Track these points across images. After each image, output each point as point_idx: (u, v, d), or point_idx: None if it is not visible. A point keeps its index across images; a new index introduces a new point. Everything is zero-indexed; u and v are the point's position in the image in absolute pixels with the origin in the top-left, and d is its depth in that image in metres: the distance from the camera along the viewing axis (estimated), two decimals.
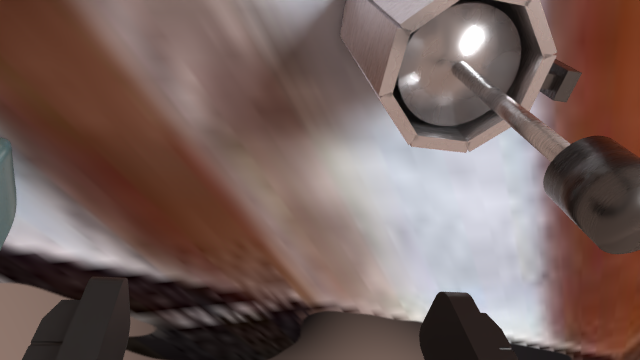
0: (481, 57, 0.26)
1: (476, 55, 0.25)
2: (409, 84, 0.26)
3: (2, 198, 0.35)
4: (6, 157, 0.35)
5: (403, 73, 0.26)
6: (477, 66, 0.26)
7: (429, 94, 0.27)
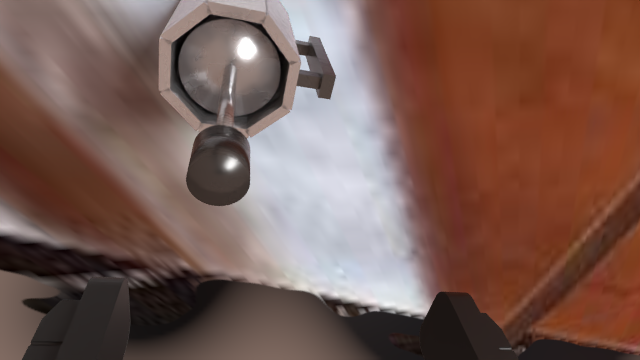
0: (246, 61, 0.32)
1: (240, 60, 0.32)
2: (190, 82, 0.32)
3: None
4: None
5: (182, 72, 0.32)
6: (244, 69, 0.32)
7: (210, 90, 0.33)
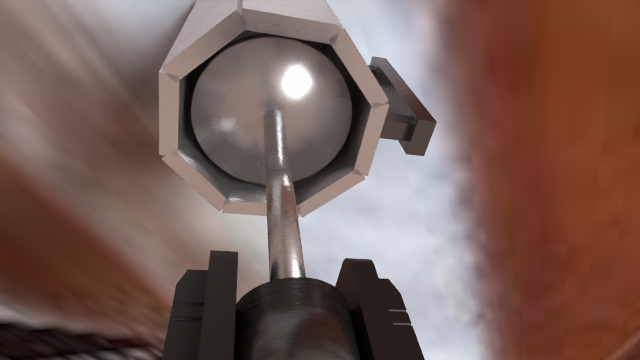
0: (298, 104, 0.20)
1: (290, 101, 0.20)
2: (209, 138, 0.20)
3: None
4: None
5: (197, 124, 0.20)
6: (296, 115, 0.20)
7: (240, 148, 0.21)
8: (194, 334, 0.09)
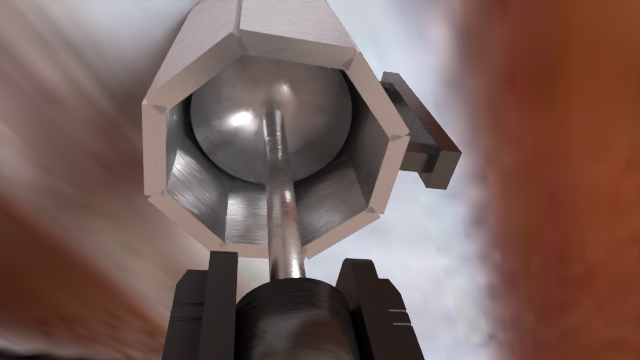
0: (298, 103, 0.20)
1: (290, 101, 0.20)
2: (209, 137, 0.20)
3: None
4: None
5: (197, 123, 0.20)
6: (296, 114, 0.20)
7: (240, 148, 0.21)
8: (194, 334, 0.09)
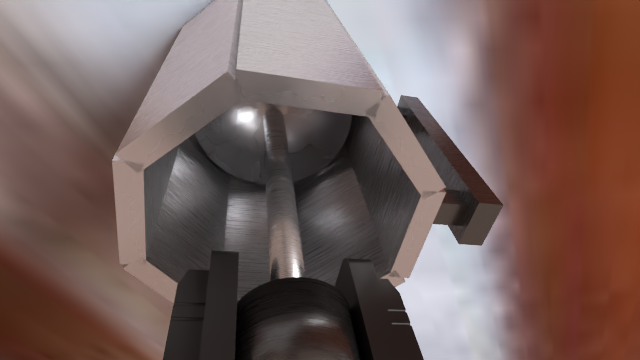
0: None
1: None
2: (209, 137, 0.20)
3: None
4: None
5: None
6: (296, 114, 0.20)
7: (240, 148, 0.21)
8: (195, 334, 0.09)
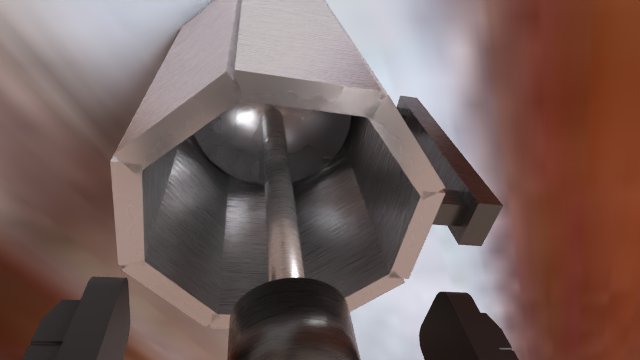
0: None
1: None
2: (208, 138, 0.20)
3: None
4: None
5: None
6: (295, 115, 0.20)
7: (239, 148, 0.21)
8: None
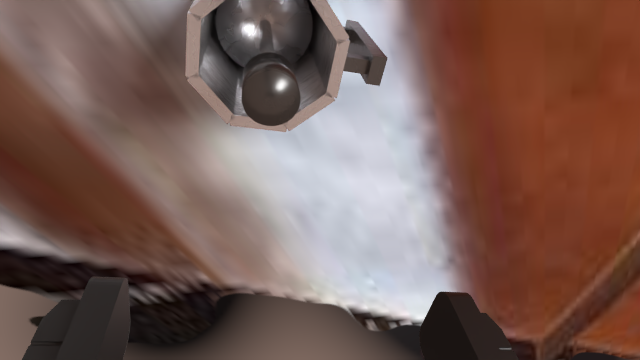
0: (280, 16, 0.33)
1: (275, 14, 0.33)
2: (226, 38, 0.34)
3: None
4: None
5: (219, 28, 0.33)
6: (278, 24, 0.34)
7: (244, 46, 0.34)
8: None
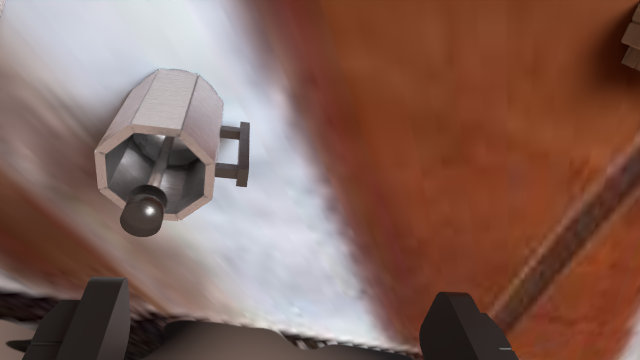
0: None
1: None
2: (142, 143, 0.45)
3: None
4: None
5: (136, 136, 0.44)
6: None
7: (157, 147, 0.45)
8: None
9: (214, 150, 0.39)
